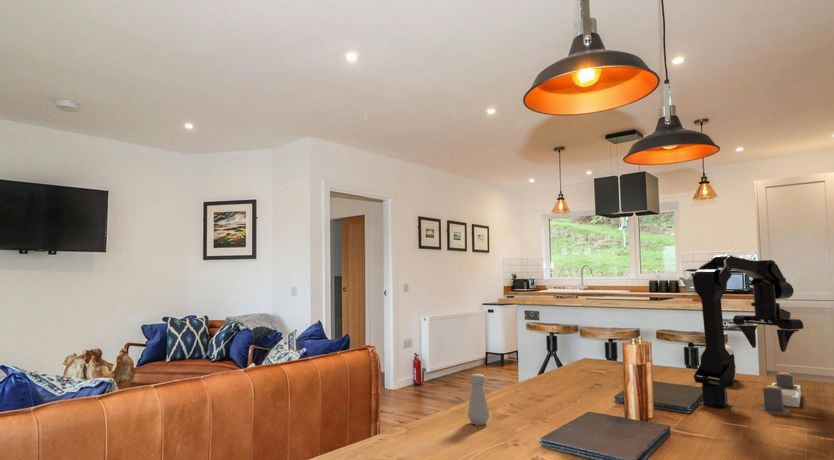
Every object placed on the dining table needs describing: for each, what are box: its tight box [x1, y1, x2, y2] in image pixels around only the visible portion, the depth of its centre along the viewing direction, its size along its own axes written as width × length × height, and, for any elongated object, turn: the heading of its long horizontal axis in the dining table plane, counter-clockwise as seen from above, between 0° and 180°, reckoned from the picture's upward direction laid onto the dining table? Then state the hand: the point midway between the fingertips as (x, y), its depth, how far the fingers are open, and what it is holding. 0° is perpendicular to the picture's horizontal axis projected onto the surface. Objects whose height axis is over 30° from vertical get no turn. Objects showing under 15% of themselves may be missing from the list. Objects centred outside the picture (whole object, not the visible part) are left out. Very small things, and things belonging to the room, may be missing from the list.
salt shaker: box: [467, 373, 490, 426], centre depth 134 cm, size 6×6×13 cm
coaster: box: [758, 405, 791, 414], centre depth 138 cm, size 7×7×1 cm
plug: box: [762, 384, 785, 412], centre depth 138 cm, size 4×4×6 cm
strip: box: [770, 371, 802, 408], centre depth 155 cm, size 33×7×7 cm, turn 141°
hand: (768, 349), depth 155 cm, fingers open, 9 cm apart
